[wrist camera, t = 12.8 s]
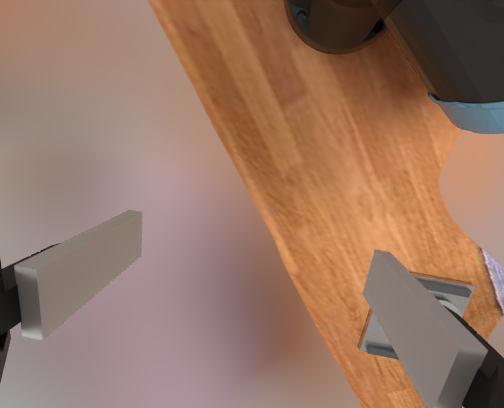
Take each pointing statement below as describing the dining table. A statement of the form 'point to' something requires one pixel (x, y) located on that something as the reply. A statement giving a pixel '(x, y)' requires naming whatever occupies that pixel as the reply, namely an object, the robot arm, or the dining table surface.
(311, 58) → the dining table surface
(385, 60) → the dining table surface
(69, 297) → the robot arm
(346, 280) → the dining table surface
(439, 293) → the mount plate
